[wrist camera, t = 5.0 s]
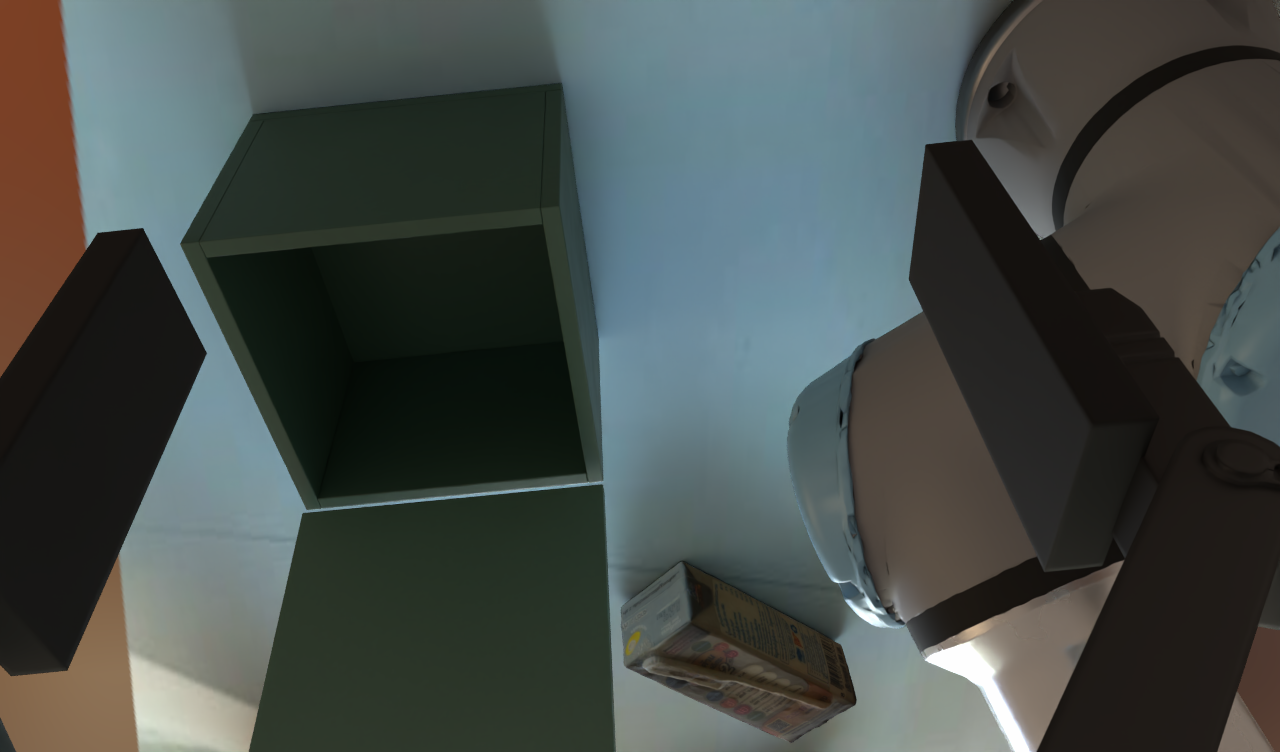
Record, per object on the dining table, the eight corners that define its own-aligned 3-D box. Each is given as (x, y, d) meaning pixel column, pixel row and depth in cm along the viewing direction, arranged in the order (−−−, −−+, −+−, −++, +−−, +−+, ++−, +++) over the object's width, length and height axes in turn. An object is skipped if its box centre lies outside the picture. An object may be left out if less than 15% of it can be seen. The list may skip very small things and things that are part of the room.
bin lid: (219, 878, 37) (227, 884, 38) (618, 842, 37) (620, 849, 37) (302, 512, 49) (307, 521, 50) (603, 483, 49) (604, 493, 49)
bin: (252, 113, 48) (179, 243, 39) (562, 82, 47) (559, 205, 39) (346, 364, 59) (306, 510, 50) (598, 339, 58) (603, 482, 49)
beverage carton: (684, 554, 72) (693, 628, 68) (846, 639, 81) (865, 710, 77) (616, 604, 76) (620, 677, 71) (779, 680, 85) (792, 750, 80)
